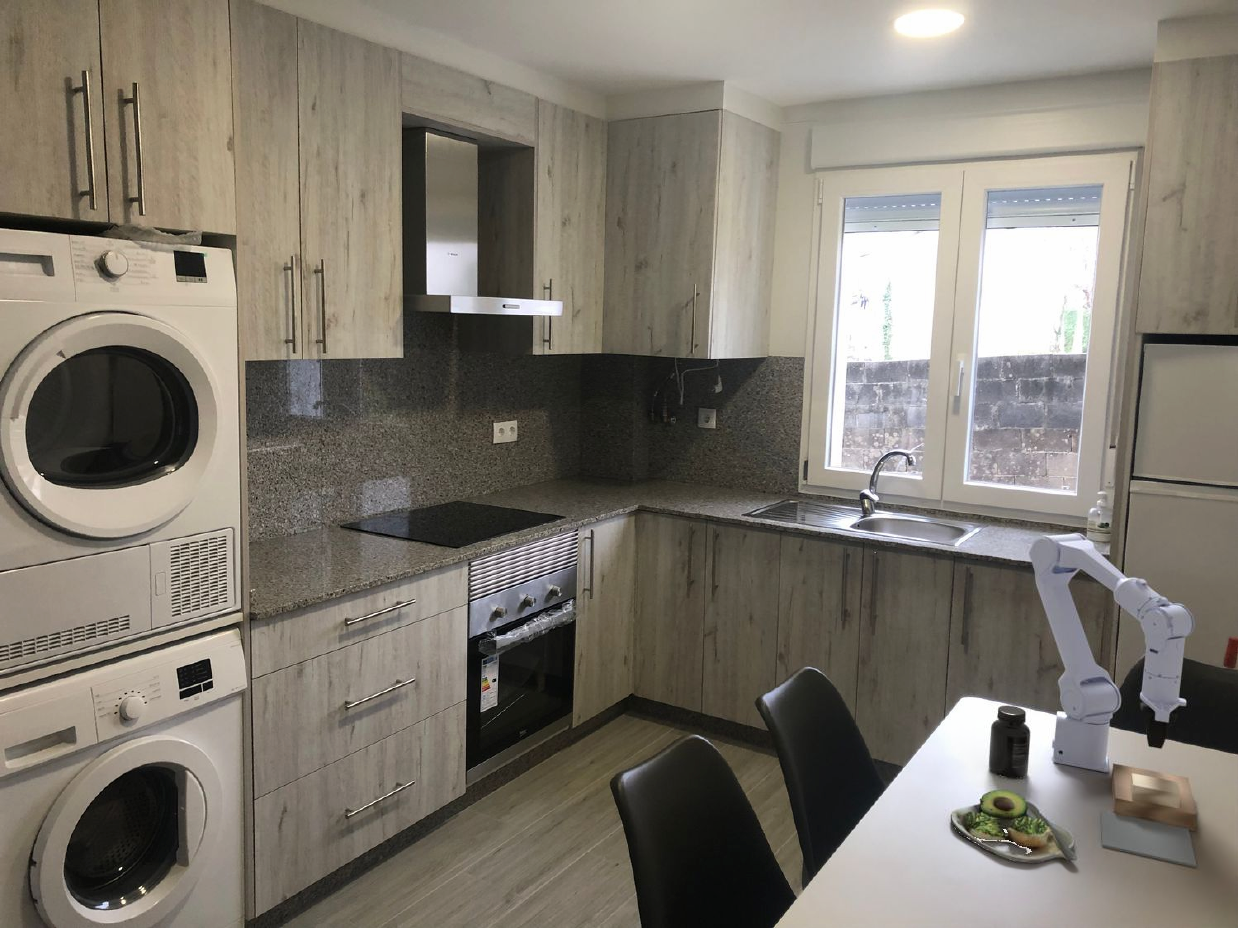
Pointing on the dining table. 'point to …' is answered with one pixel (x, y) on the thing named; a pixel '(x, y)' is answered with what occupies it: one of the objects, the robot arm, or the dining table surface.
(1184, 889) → the dining table surface
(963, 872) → the dining table surface
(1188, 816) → the block
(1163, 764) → the dining table surface
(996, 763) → the supplement bottle
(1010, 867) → the dining table surface
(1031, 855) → the salad plate
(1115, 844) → the rubber mat
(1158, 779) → the ash block
